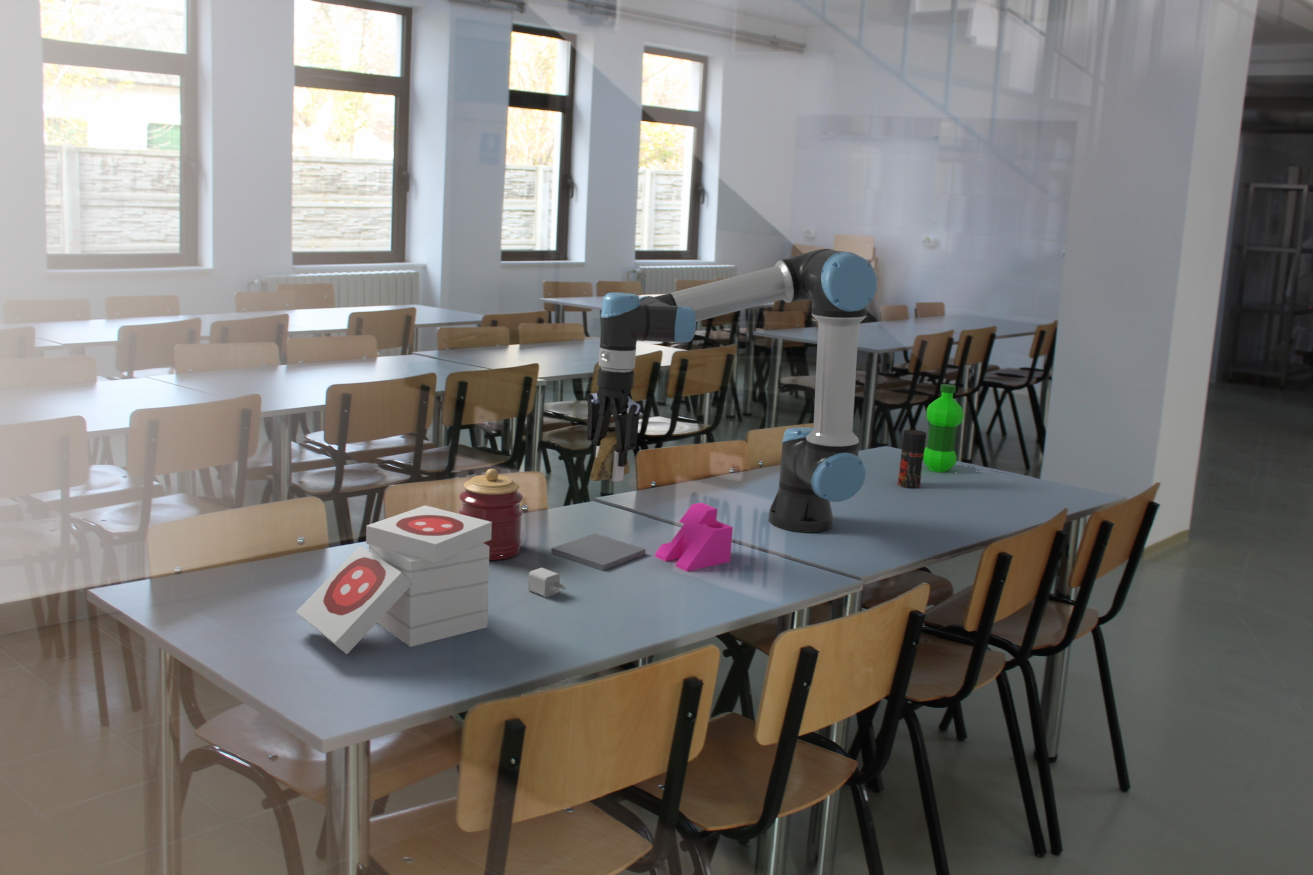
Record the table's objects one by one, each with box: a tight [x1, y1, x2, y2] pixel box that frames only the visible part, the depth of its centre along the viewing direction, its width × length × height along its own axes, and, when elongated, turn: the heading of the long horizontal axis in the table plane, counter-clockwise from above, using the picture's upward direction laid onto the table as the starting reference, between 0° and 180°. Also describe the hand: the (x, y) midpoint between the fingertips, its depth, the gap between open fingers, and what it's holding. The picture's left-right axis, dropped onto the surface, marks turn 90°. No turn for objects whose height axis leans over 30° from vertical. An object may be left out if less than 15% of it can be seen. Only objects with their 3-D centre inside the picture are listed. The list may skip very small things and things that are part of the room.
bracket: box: [654, 502, 734, 572], centre depth 228 cm, size 12×10×10 cm
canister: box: [458, 468, 524, 561], centre depth 224 cm, size 13×13×18 cm
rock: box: [589, 429, 630, 482], centre depth 229 cm, size 11×9×10 cm
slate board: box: [550, 533, 646, 571], centre depth 228 cm, size 14×14×1 cm
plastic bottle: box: [923, 383, 965, 473], centre depth 314 cm, size 10×10×25 cm
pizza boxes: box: [295, 505, 492, 655], centre depth 183 cm, size 19×30×18 cm, turn 131°
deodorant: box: [897, 429, 927, 490], centre depth 296 cm, size 6×6×15 cm
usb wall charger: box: [527, 567, 567, 598], centre depth 205 cm, size 4×7×4 cm, turn 50°
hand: (608, 477), depth 229 cm, fingers closed on rock, 4 cm apart
